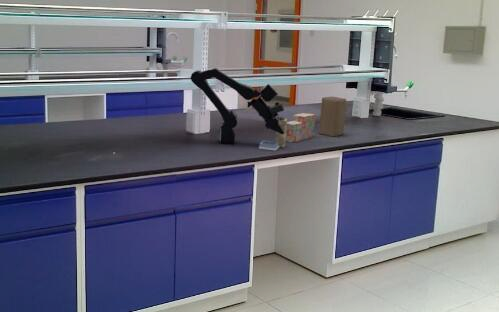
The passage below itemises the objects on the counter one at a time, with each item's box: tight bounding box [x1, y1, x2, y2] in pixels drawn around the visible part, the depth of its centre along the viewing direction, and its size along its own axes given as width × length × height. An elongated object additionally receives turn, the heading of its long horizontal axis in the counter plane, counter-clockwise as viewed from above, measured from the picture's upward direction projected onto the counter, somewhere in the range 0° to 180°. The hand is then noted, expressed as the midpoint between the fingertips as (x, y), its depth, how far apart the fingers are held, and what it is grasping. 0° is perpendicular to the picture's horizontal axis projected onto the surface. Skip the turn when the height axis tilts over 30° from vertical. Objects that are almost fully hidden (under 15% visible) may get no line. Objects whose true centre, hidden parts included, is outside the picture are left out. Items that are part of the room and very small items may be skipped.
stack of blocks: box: [285, 112, 316, 143], centre depth 290 cm, size 21×6×12 cm, turn 144°
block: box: [318, 96, 347, 138], centre depth 304 cm, size 10×10×20 cm
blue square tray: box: [258, 139, 280, 151], centre depth 266 cm, size 8×8×2 cm
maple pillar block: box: [274, 116, 288, 148], centre depth 270 cm, size 4×4×14 cm
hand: (283, 132), depth 270 cm, fingers closed on maple pillar block, 5 cm apart
